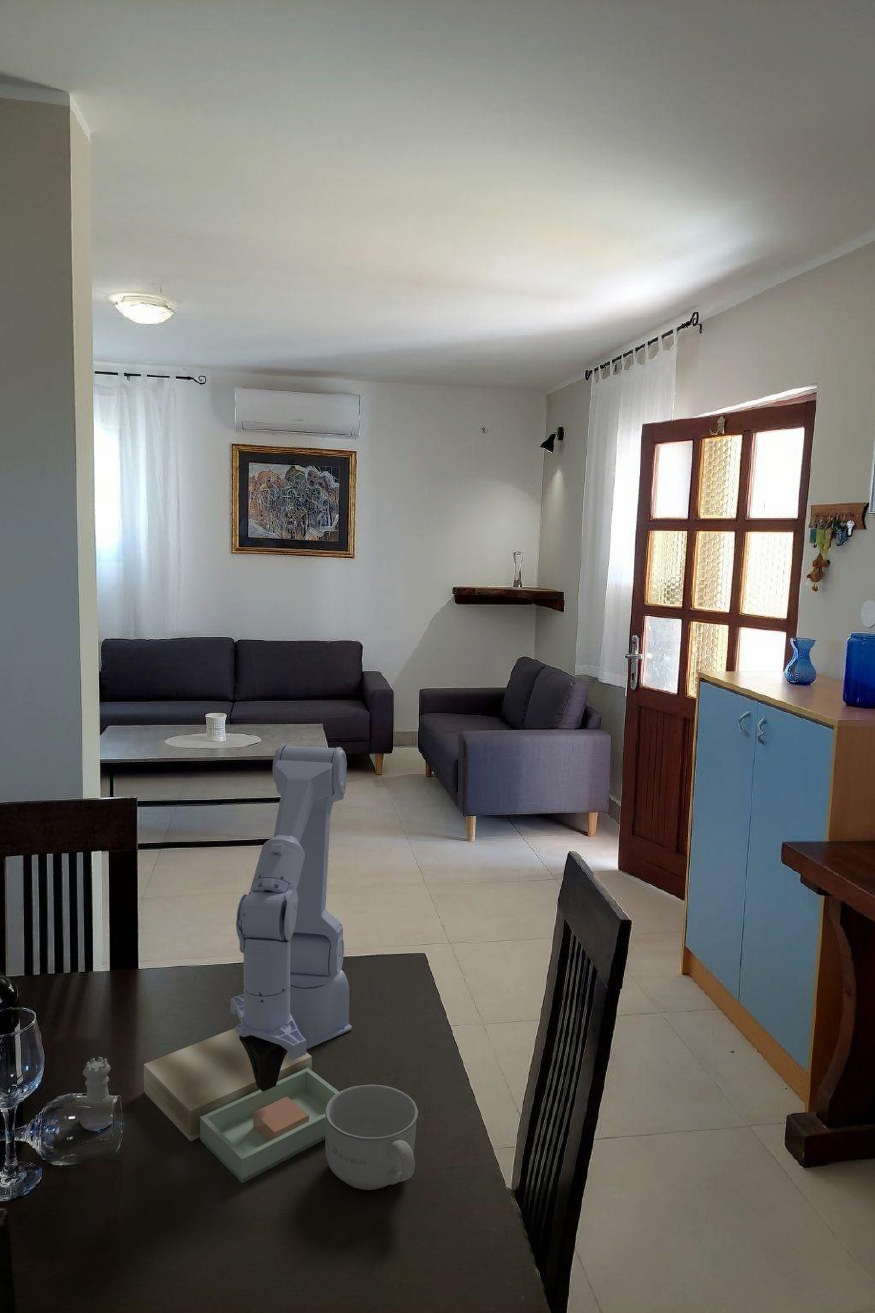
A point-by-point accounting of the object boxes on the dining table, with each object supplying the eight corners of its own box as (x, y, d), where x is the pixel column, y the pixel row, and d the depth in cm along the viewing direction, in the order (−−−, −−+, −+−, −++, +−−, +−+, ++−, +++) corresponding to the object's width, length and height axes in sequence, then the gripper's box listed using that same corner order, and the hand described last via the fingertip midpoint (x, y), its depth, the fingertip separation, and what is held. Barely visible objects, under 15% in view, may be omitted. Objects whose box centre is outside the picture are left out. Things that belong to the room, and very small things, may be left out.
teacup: (314, 1153, 107) (314, 1091, 106) (397, 1132, 111) (398, 1072, 110) (348, 1236, 94) (349, 1167, 93) (441, 1208, 99) (443, 1142, 98)
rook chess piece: (104, 1136, 109) (102, 1075, 108) (71, 1130, 110) (69, 1070, 109) (123, 1113, 114) (122, 1055, 113) (92, 1108, 114) (91, 1050, 113)
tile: (309, 1115, 110) (309, 1130, 111) (286, 1096, 114) (286, 1110, 114) (274, 1132, 107) (274, 1147, 107) (253, 1112, 111) (253, 1127, 111)
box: (307, 1088, 120) (307, 1067, 119) (352, 1124, 113) (353, 1102, 112) (199, 1139, 109) (199, 1117, 109) (242, 1183, 102) (242, 1159, 101)
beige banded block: (260, 1043, 130) (260, 1017, 130) (311, 1083, 121) (311, 1056, 120) (144, 1092, 118) (143, 1064, 118) (190, 1141, 109) (190, 1111, 108)
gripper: (209, 973, 113) (210, 1072, 114) (271, 1019, 102) (270, 1128, 104) (257, 957, 118) (257, 1052, 119) (321, 999, 107) (320, 1103, 109)
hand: (266, 1086), depth 112 cm, fingers closed
